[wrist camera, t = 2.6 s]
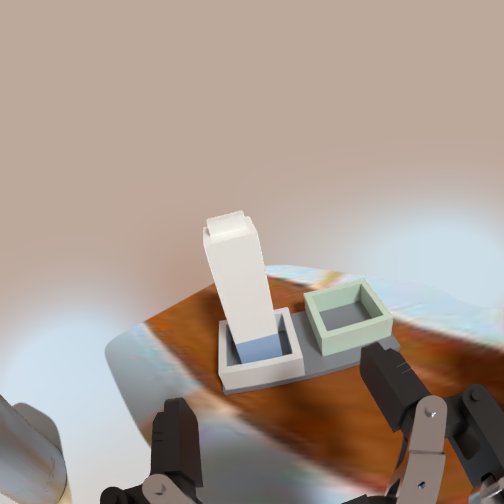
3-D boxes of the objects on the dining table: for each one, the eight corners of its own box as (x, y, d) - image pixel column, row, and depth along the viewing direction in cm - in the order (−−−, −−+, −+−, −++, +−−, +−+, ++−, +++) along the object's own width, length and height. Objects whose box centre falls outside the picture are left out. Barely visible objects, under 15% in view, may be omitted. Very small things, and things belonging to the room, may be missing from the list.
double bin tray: (224, 394, 23) (215, 375, 21) (223, 331, 30) (216, 311, 29) (399, 350, 22) (404, 328, 21) (365, 298, 30) (366, 277, 29)
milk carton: (245, 373, 24) (199, 232, 18) (240, 347, 27) (199, 215, 21) (284, 363, 24) (254, 218, 18) (275, 338, 27) (246, 203, 21)
